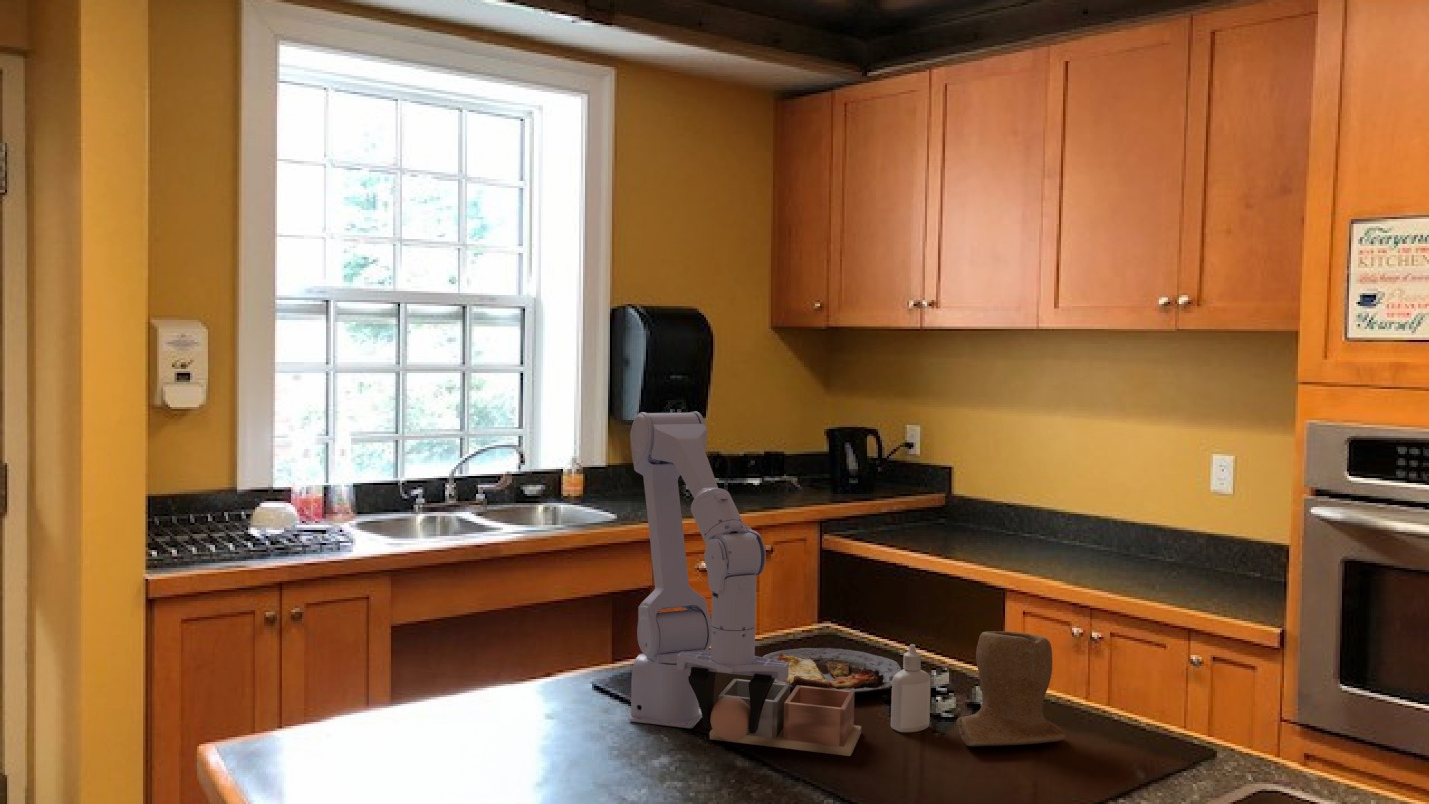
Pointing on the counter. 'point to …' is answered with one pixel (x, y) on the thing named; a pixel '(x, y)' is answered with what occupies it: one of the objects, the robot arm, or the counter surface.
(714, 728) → the terracotta ball
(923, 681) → the eye dropper bottle
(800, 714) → the sorting bin tray
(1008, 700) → the brown flared upright piece
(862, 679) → the food plate
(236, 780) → the counter surface
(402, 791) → the counter surface
